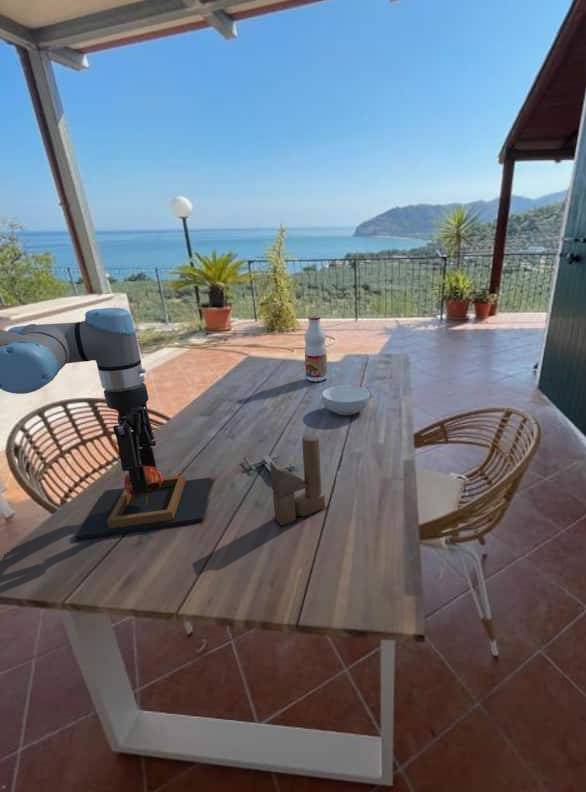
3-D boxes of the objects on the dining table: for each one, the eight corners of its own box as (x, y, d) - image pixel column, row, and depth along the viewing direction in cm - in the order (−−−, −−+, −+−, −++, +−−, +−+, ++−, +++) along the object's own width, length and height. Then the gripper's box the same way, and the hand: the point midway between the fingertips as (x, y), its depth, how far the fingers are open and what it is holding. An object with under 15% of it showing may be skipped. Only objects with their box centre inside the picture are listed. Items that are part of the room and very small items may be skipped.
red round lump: (169, 504, 88) (165, 464, 93) (159, 493, 82) (155, 451, 87) (132, 514, 86) (131, 473, 90) (120, 504, 79) (118, 460, 84)
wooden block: (274, 517, 85) (267, 444, 79) (317, 500, 91) (314, 431, 85) (281, 527, 82) (275, 452, 76) (325, 508, 88) (322, 437, 82)
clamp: (300, 468, 100) (262, 481, 94) (300, 476, 100) (263, 489, 95) (277, 445, 111) (242, 455, 106) (277, 452, 112) (243, 462, 107)
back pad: (76, 540, 79) (73, 528, 78) (106, 493, 93) (103, 483, 92) (202, 521, 84) (200, 510, 83) (211, 480, 99) (209, 470, 98)
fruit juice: (330, 380, 171) (328, 317, 161) (310, 384, 167) (307, 319, 157) (322, 374, 178) (320, 313, 169) (303, 377, 175) (299, 315, 165)
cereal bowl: (379, 410, 140) (379, 392, 137) (346, 425, 129) (345, 405, 126) (346, 398, 151) (345, 381, 148) (313, 411, 140) (312, 392, 137)
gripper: (129, 402, 70) (153, 507, 78) (156, 370, 89) (173, 458, 96) (83, 406, 69) (111, 513, 77) (120, 372, 87) (140, 461, 95)
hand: (146, 482), depth 87 cm, fingers closed on red round lump, 7 cm apart
